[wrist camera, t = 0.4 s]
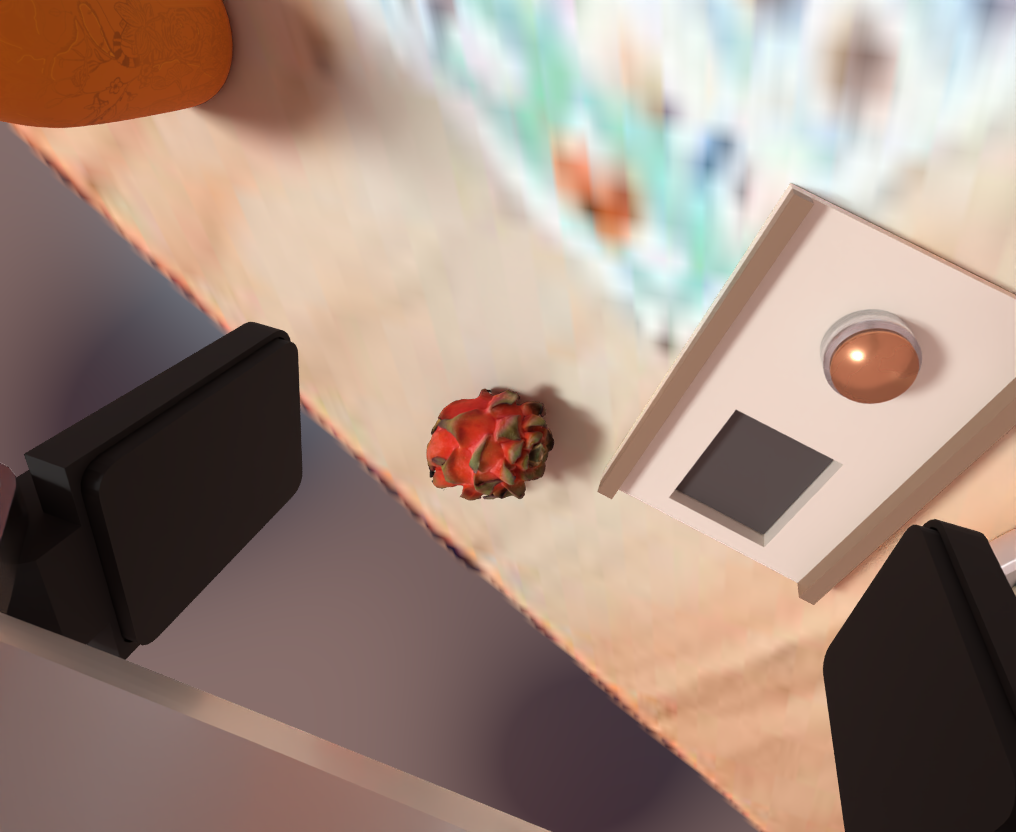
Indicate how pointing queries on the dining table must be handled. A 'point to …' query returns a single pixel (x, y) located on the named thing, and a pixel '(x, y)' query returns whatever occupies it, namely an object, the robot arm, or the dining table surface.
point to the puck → (870, 356)
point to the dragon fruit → (489, 445)
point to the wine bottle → (109, 59)
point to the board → (820, 398)
